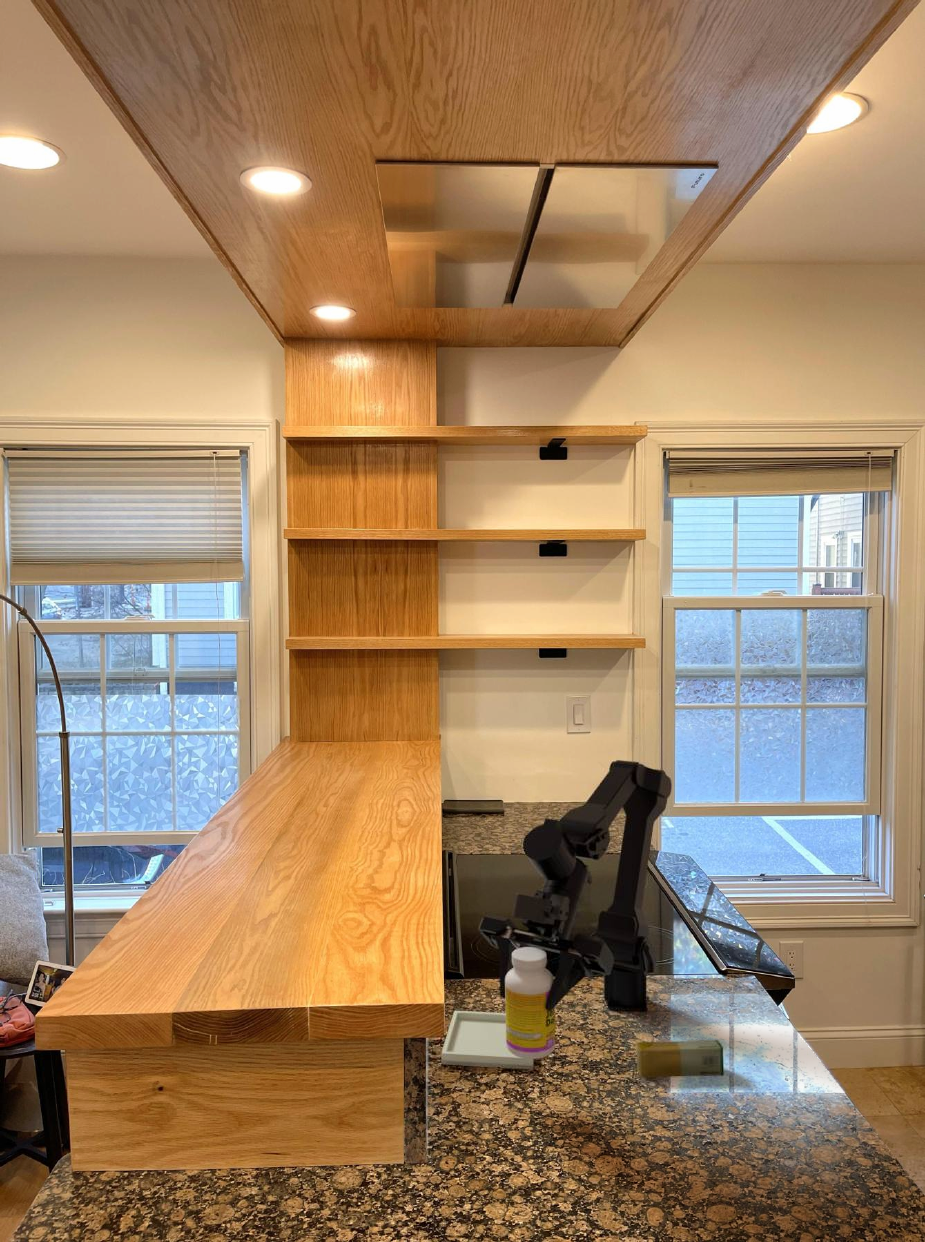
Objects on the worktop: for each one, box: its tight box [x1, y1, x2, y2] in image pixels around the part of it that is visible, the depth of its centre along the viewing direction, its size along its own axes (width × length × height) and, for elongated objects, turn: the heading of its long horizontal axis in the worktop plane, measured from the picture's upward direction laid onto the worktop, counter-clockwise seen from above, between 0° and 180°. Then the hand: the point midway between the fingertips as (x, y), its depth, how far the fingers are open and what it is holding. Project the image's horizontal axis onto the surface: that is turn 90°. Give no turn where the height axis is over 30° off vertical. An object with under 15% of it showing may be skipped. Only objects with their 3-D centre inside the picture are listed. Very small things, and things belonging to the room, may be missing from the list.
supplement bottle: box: [504, 946, 556, 1060], centre depth 116 cm, size 7×7×13 cm
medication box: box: [635, 1039, 725, 1078], centre depth 123 cm, size 12×3×4 cm, turn 91°
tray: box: [440, 1010, 535, 1071], centre depth 131 cm, size 13×13×2 cm
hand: (524, 1003), depth 115 cm, fingers closed on supplement bottle, 7 cm apart
